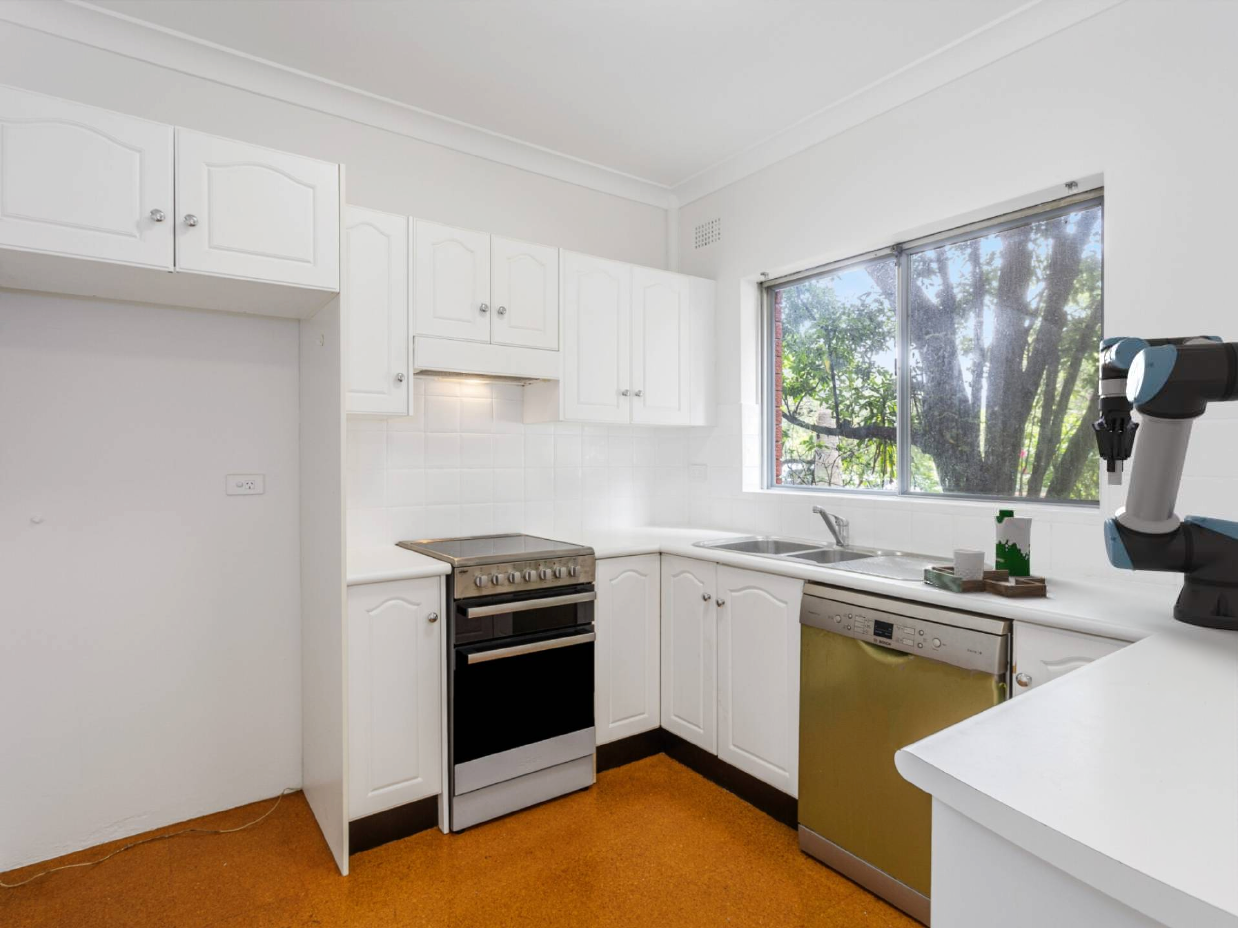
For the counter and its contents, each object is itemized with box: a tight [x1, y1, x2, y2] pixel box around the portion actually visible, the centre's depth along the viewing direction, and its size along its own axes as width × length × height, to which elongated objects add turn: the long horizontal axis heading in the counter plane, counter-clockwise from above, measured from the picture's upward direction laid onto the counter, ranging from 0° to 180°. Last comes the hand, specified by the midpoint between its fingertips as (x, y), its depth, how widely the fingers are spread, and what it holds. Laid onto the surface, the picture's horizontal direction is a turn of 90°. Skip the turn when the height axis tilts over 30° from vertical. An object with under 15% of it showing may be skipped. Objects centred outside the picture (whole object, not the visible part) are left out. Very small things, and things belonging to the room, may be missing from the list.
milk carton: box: [993, 509, 1033, 577], centre depth 211 cm, size 9×9×20 cm
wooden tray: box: [923, 565, 1047, 599], centre depth 191 cm, size 31×27×4 cm
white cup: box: [952, 548, 985, 580], centre depth 190 cm, size 8×8×10 cm
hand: (1114, 484), depth 180 cm, fingers closed
